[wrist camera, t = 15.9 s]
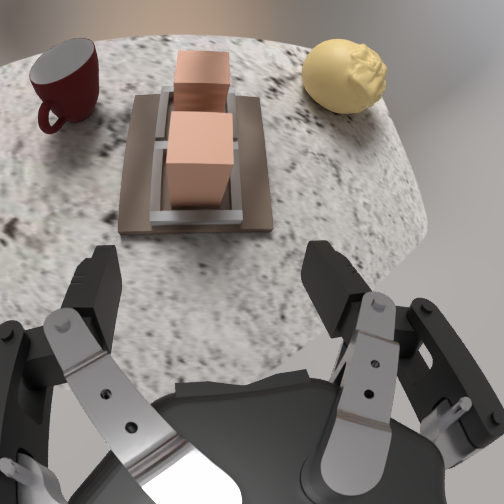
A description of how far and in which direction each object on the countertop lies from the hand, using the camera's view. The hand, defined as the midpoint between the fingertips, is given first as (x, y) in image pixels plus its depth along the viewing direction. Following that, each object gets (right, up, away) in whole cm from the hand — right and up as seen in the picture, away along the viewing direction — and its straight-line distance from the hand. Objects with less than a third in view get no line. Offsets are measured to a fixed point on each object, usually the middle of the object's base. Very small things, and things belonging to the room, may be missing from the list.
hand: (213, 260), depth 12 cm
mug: (-21, +18, +17) cm, 32 cm away
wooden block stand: (-5, +11, +20) cm, 23 cm away
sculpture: (+14, +24, +27) cm, 39 cm away
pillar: (-4, +7, +18) cm, 20 cm away
